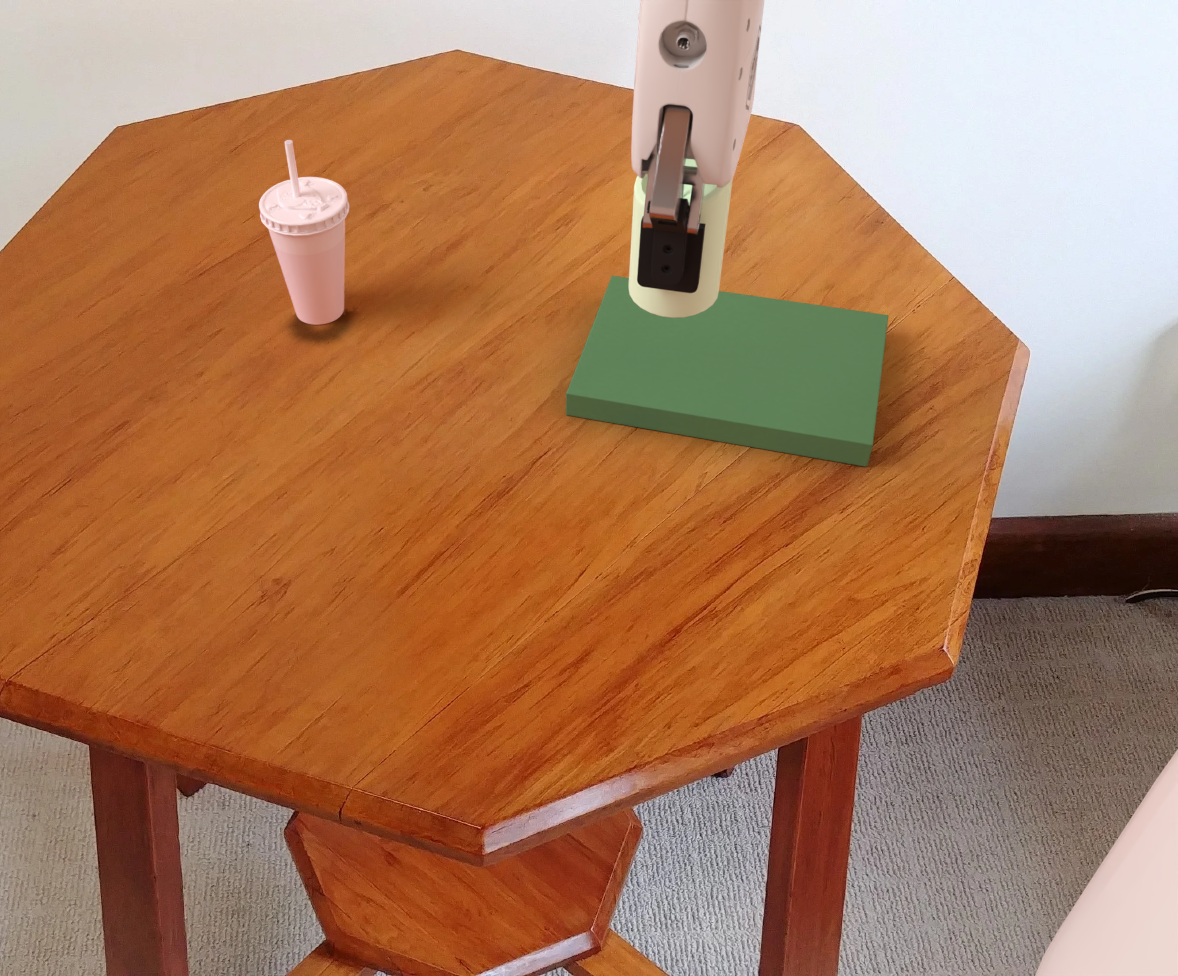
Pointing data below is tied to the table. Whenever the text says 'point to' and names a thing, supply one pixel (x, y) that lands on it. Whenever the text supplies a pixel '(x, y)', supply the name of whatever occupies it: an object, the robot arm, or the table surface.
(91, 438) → the table surface
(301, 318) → the smoothie
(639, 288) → the candle
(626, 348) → the foam
